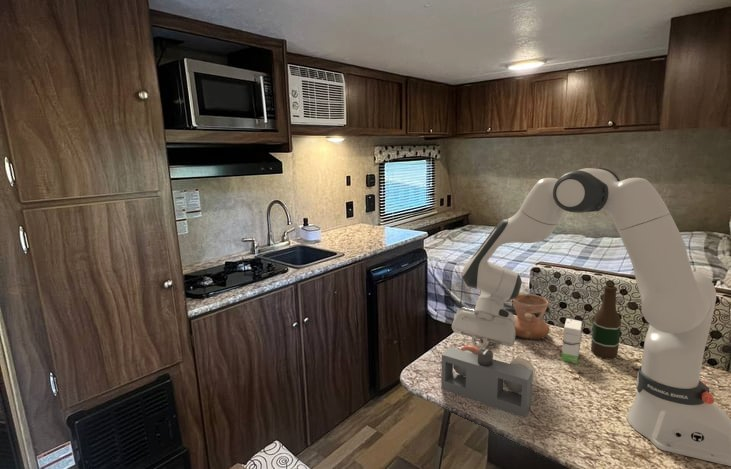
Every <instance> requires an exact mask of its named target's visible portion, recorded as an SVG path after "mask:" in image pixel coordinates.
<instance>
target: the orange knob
mask: <svg viewBox="0 0 731 469" xmlns="http://www.w3.org/2000/svg"><path fill="white" fill-rule="evenodd" d="M460 350H462V351H466V352H469V353H473V354H476V355H478V351H479V350H480V349H479V348H477V347H476V346H474V345H473V344H465V345H463V347H461V349H460ZM453 370H454V371H455V372H456V374H458V375H461V376H465V377H466V368H464V367H461V366H457V365H454V364H453Z"/></svg>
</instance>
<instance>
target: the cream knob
mask: <svg viewBox="0 0 731 469" xmlns="http://www.w3.org/2000/svg"><path fill="white" fill-rule="evenodd" d="M509 364H512V365H516V366H519V367H523V368H526V369H530V370H533V374H532V382H533V381H534V378H535V377H536V369H535V366H534V365H533V364H532V363H531V362H530V361H529V360H527V359H525V358H522V357H517V358H513V359H512V360H510V363H509ZM503 384H504V386H505V387H506V388H507V390H509V391H512V392H515V393H518V394H521V393H522V385H520V384H516V383H513V382H510V381H507V380H503Z"/></svg>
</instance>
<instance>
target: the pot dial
mask: <svg viewBox="0 0 731 469" xmlns="http://www.w3.org/2000/svg"><path fill="white" fill-rule="evenodd" d="M493 359H494V352H493V351H492V350H490V349H486V348H483V349H480V350H479V351H478V364H480V365H482V366H491V365H492V364H493Z"/></svg>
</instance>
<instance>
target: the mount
mask: <svg viewBox="0 0 731 469" xmlns="http://www.w3.org/2000/svg"><path fill="white" fill-rule="evenodd" d="M453 364H454V365H457V366H461V367H464V368H466V376H461V375H459V374H458V373H455V372H454V367H453ZM440 373H441V375H440V376H441V380H440V381H441V382H440V383H441V384H440V385H441V386H440V388H441V390H443V391H446V392H448V393H452V394H454V395H457V396H461V397H463V398H465V399H469V400H472V401H474V402H477V403H480V404H484V405H486V406H489V407H492V408H495V409H498V410H499V411H504V412H506V413H510V414H512V415H515V416H517V417H521V418H523V419H526V417H527V415H528V413H529V411H530V409H531V402H532V401H531V400H532V388H533V381H532V374H533V370H530V369H526V368H523V367H519V366H516V365H512V364H510V363H507V362H506V361H505V362H504V361H501V360H497V359H494V358H493V364H492V365H491V366H482V365H480V364H478V355H476V354H473V353H469V352H466V351H462V350H461V349H458V348H454V347H451V346H449V347H448V348H447V349H446V350H445V351H444V352H443V353H442V354H441V372H440ZM504 380H507V381H510V382H513V383H516V384H520V385H522V392H521V393H515V392H512V391H510V390H509V389H506V388H504Z"/></svg>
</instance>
